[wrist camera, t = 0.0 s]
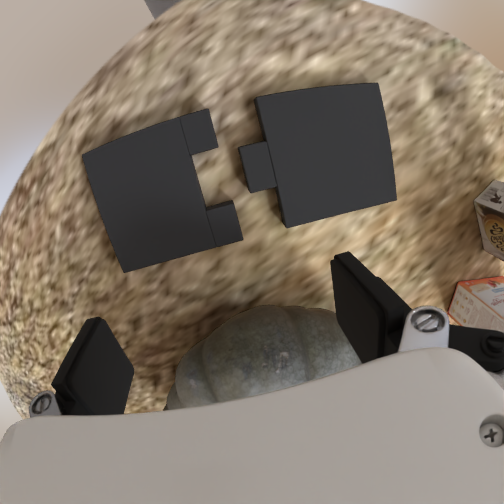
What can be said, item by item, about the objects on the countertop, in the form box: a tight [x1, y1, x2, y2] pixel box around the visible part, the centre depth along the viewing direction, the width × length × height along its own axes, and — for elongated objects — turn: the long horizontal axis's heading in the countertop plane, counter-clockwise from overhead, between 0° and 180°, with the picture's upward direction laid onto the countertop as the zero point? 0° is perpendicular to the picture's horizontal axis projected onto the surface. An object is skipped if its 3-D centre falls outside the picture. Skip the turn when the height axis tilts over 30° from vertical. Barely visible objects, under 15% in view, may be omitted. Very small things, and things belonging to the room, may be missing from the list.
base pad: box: [82, 109, 243, 273], centre depth 24 cm, size 12×12×2 cm
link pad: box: [238, 83, 397, 228], centre depth 24 cm, size 12×14×2 cm
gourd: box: [163, 305, 362, 411], centre depth 27 cm, size 25×25×17 cm
